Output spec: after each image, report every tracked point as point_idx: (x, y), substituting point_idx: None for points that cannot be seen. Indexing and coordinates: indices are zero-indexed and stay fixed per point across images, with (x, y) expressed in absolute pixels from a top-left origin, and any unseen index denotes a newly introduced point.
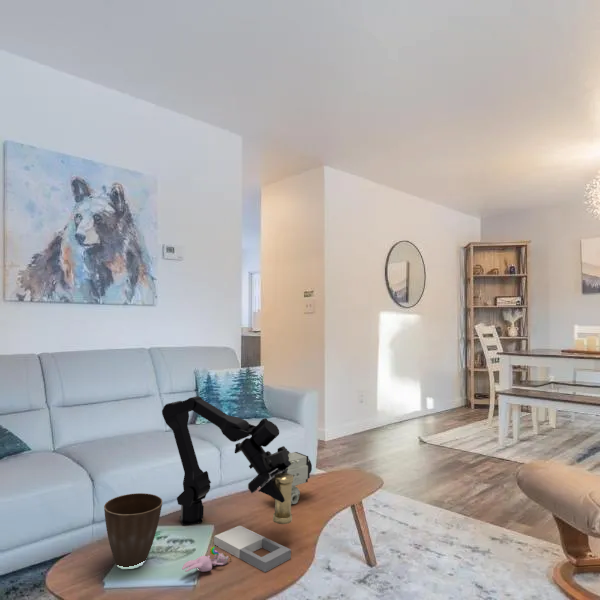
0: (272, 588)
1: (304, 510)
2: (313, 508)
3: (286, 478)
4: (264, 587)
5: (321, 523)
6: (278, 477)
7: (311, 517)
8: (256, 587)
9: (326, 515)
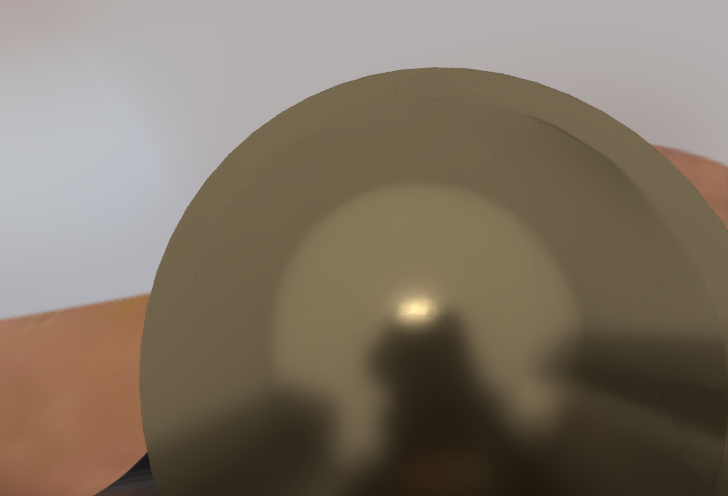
0: (668, 154)
1: (59, 438)
2: (21, 413)
3: (541, 148)
4: (686, 176)
5: (150, 293)
6: (691, 399)
7: (115, 363)
8: (710, 196)
9: (68, 319)
